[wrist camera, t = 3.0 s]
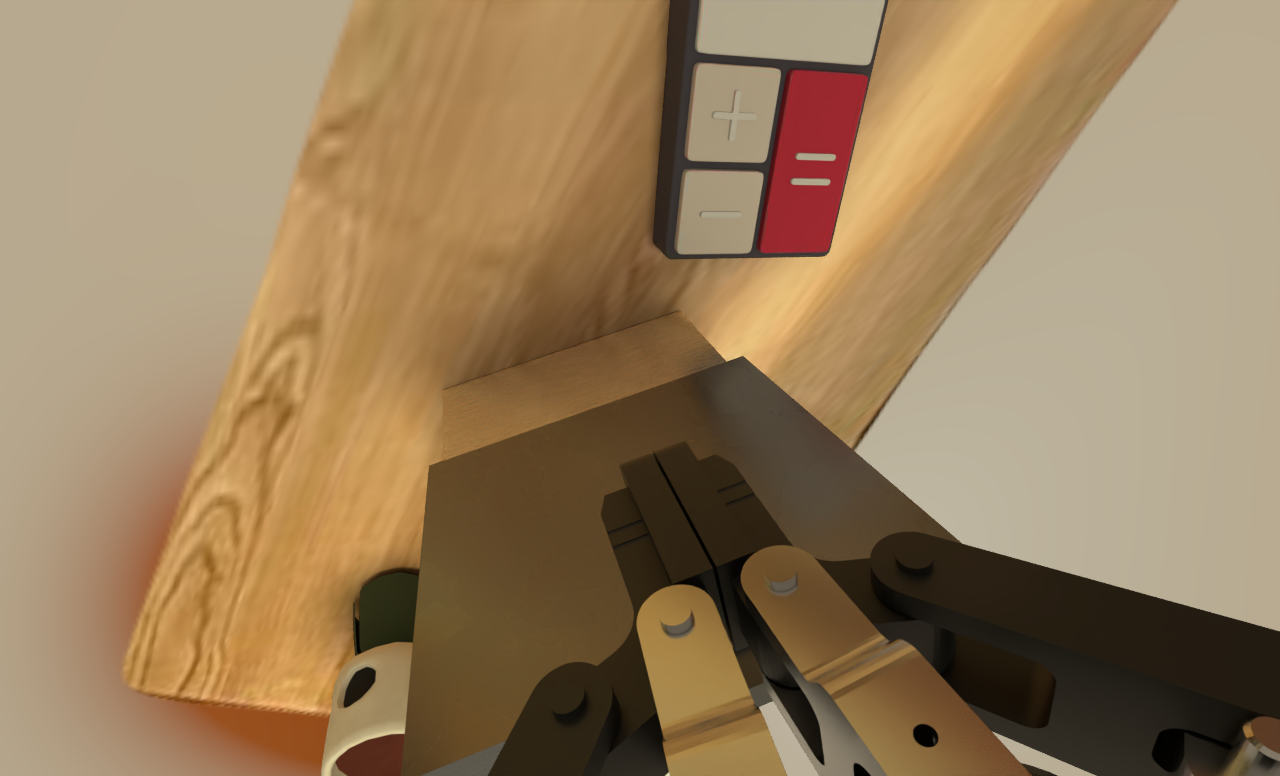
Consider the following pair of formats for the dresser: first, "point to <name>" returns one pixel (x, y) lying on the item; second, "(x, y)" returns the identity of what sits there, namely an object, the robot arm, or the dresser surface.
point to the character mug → (374, 683)
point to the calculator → (760, 124)
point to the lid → (600, 545)
